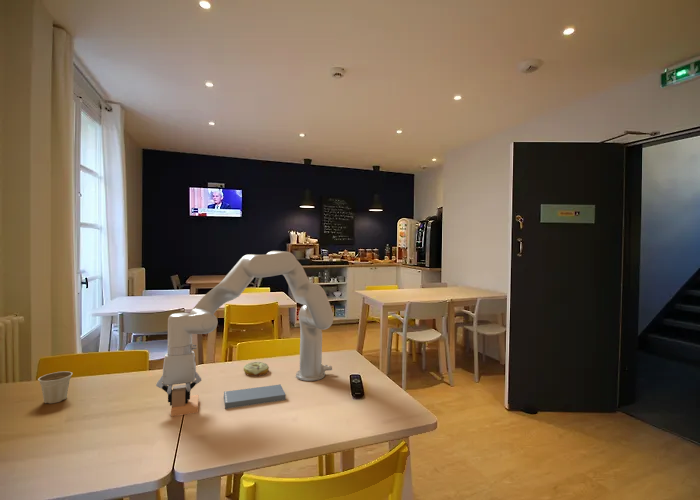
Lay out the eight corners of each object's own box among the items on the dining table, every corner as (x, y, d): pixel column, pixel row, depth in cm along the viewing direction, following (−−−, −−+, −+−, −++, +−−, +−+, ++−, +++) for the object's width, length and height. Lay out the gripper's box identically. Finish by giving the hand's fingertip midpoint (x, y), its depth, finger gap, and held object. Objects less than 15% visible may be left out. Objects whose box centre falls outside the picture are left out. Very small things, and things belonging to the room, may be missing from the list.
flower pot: (32, 402, 122) (32, 377, 122) (64, 392, 131) (64, 369, 131) (45, 408, 118) (45, 383, 118) (77, 398, 126) (77, 374, 126)
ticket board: (280, 389, 137) (280, 384, 137) (285, 399, 128) (285, 394, 128) (223, 397, 129) (223, 391, 129) (224, 408, 120) (225, 402, 120)
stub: (198, 400, 126) (198, 380, 126) (197, 412, 117) (197, 391, 117) (173, 403, 123) (174, 383, 123) (171, 416, 114) (171, 395, 114)
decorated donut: (257, 378, 148) (257, 370, 148) (238, 374, 153) (238, 365, 153) (273, 371, 158) (273, 362, 158) (254, 367, 162) (254, 359, 162)
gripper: (206, 344, 126) (205, 395, 126) (153, 348, 119) (152, 402, 120) (206, 350, 119) (205, 403, 119) (150, 355, 113) (149, 411, 113)
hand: (179, 402), depth 119 cm, fingers closed on stub, 4 cm apart
